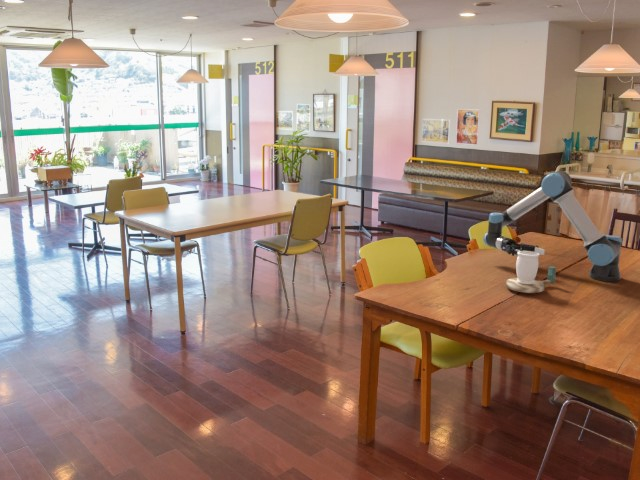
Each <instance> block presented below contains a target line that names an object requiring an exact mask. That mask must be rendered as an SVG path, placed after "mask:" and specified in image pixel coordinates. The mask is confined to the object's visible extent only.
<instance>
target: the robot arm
mask: <svg viewBox="0 0 640 480" xmlns="http://www.w3.org/2000/svg"><path fill="white" fill-rule="evenodd" d="M574 191H575V189H574V188H573V186H572V177H571V176H570V174H569V173H567V172H566V171H562V170H558V171H554V172H551V173H549V174H547V175H545V176H544V177H543V179H542V181H541V186H540V187H539V188H537V189H535V190H534V191H532V192H531V193H530V194H528V195H526V196H525V197H523V198H522V199H520V200H519V201H518V202H516V203H514V204H513V205H512V206H510V207H509V208H507V209H506V210H504V211H503V212H502V213H501V212H491V213H489V216H488V228H487V232H486V233H485V234H484V236H483V238H482V241H483V243H484V244H485V245H487V246H489V247H491V248H493V249H498V250H500V251H501V252H505V253H507V254H508V255H511V256H513V257H514V256H515V255H516V256H518V254H517V252H518V251H531V252H536V253H539V255H542V256H544V255H546V250H545V248H544V249H543V248H540V247H539V246H538V245H532V244H527V243H517V242H516V241H515V239H513V238H510V237H508V236H507V237H506V236H502V233H503V228H505V227H507V226H509V225H511V223H513V222H515V221H516V220H517V219H519V218H521V217H522V216H523V215H525V214H526V213H528V212H530V211H531V210H533V209H534V208H536V207H538V206H540V205H541V204H542V203H544V202H545V201H547V200H548V199H550V200H551V201H552V202H553V203H556V204H558V206H559V207H560V208H561V210H562V212H563V213H564V215H565V216H566V217H567V219H568V221H570V223H571V225H572V226H573V228H574V229H575V231H576V232H577V234H578V235H579V236H580V237H581V239H582V241H583V243H584V244H583V247H584V250H585V251H586V252H587V257H588V260H589V261H590V263H592V266H591V268H590V271H589V273H588V275H589V278H591V279H593V280H597V281H600V282H601V281H603V282H611V283H612V282H619V281H620V280H621V271H620V266H619V264H620V257H621V249H622V244H623V242H622V241H623V240H622V239H623V238H622V237H620V236H616V235H609V234H604V233H601V232H600V231H599V230H598V229H597V226H595V224H594V223H593V221H592V220H591V218H590V217H589V215H588V214H587V212H586V210H585V209H584V207H582V205H581V204H580V202H579V201H578V199H577V198H576V196H575V195H574Z"/></svg>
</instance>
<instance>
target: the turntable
mask: <svg viewBox="0 0 640 480" xmlns="http://www.w3.org/2000/svg"><path fill="white" fill-rule="evenodd" d="M547 268H548V269H547V277H546V279H545V280H544V279H543V280H537V279H534V284H521V283H518V282H517V279H518V277H512V278H508V279H507V280H506V283H505V287H506V288H508V289H509V290H511V291H514V292H519V293H524V294H536V293H537V294H539V293H542V292H543V291H545V285H551V284H555V282H556V273H557V267H555V266H548V267H547Z"/></svg>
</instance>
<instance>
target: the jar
mask: <svg viewBox="0 0 640 480" xmlns="http://www.w3.org/2000/svg"><path fill="white" fill-rule="evenodd" d="M517 254H518V255H517V258H516V261H515V270H516V276H517V277H516V278H518V279H517V282H518V283H521V284H534V280H536V277H537V273H538V269H539V257H540V254H539V253H536V252H534V251H526V250H523V251H518V252H517Z"/></svg>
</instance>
